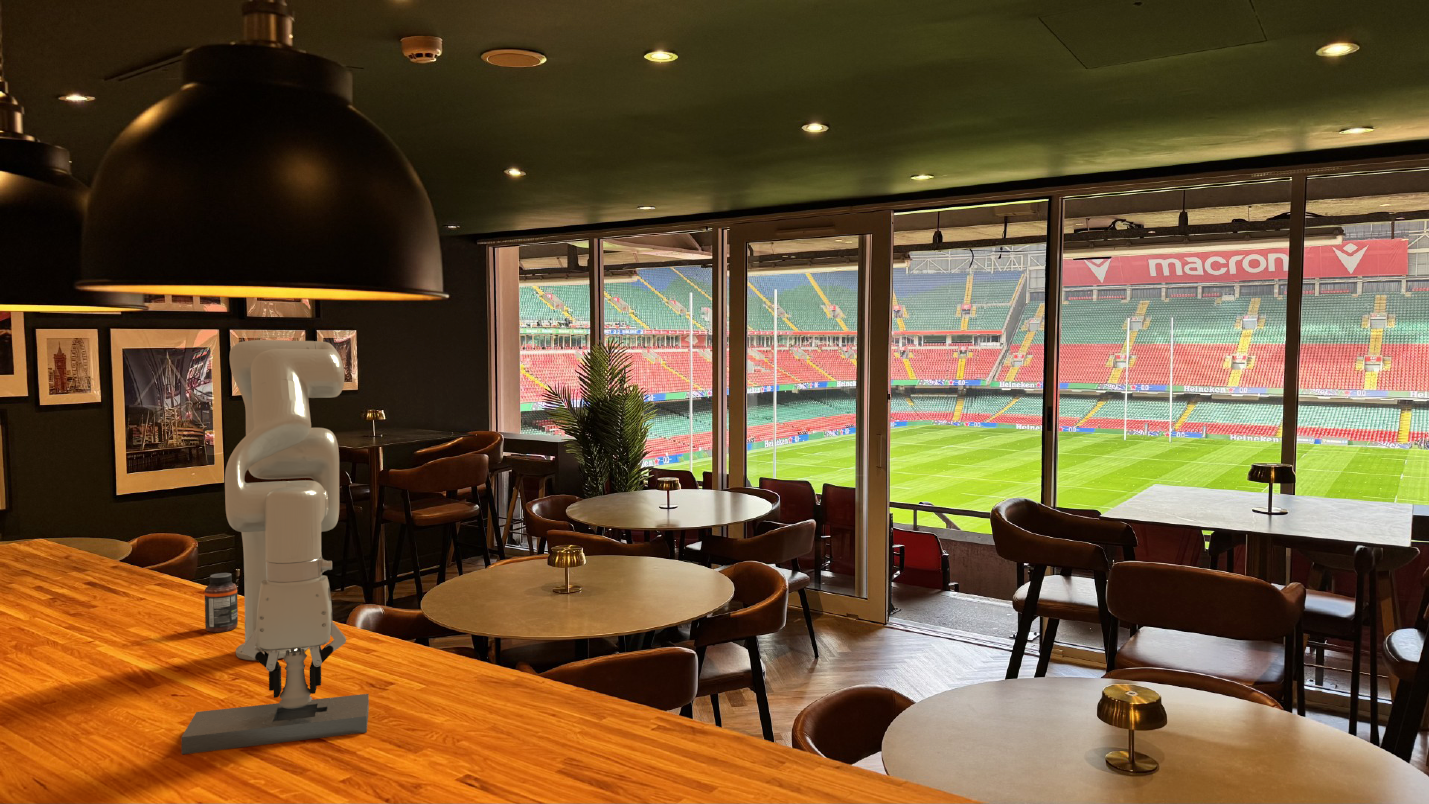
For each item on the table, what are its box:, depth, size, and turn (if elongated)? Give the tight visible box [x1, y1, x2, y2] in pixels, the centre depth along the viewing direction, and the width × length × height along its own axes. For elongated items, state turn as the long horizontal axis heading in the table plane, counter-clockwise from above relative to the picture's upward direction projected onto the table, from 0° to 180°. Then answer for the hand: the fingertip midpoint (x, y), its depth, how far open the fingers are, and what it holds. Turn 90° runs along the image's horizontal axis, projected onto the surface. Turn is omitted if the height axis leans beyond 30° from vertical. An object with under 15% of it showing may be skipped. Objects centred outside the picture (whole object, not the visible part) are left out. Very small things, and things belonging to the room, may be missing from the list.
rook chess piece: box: [279, 648, 313, 709], centre depth 135 cm, size 4×4×8 cm
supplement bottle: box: [204, 572, 239, 633], centre depth 188 cm, size 6×6×11 cm
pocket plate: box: [180, 693, 370, 755], centre depth 135 cm, size 10×24×2 cm, turn 109°
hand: (295, 691), depth 135 cm, fingers closed on rook chess piece, 4 cm apart
